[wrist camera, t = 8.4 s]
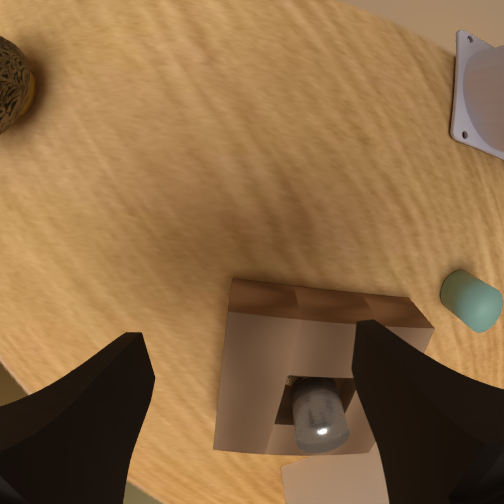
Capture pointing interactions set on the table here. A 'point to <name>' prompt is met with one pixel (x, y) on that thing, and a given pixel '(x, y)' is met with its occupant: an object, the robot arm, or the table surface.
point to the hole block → (297, 360)
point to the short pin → (471, 300)
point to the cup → (14, 84)
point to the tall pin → (317, 414)
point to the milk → (336, 479)
